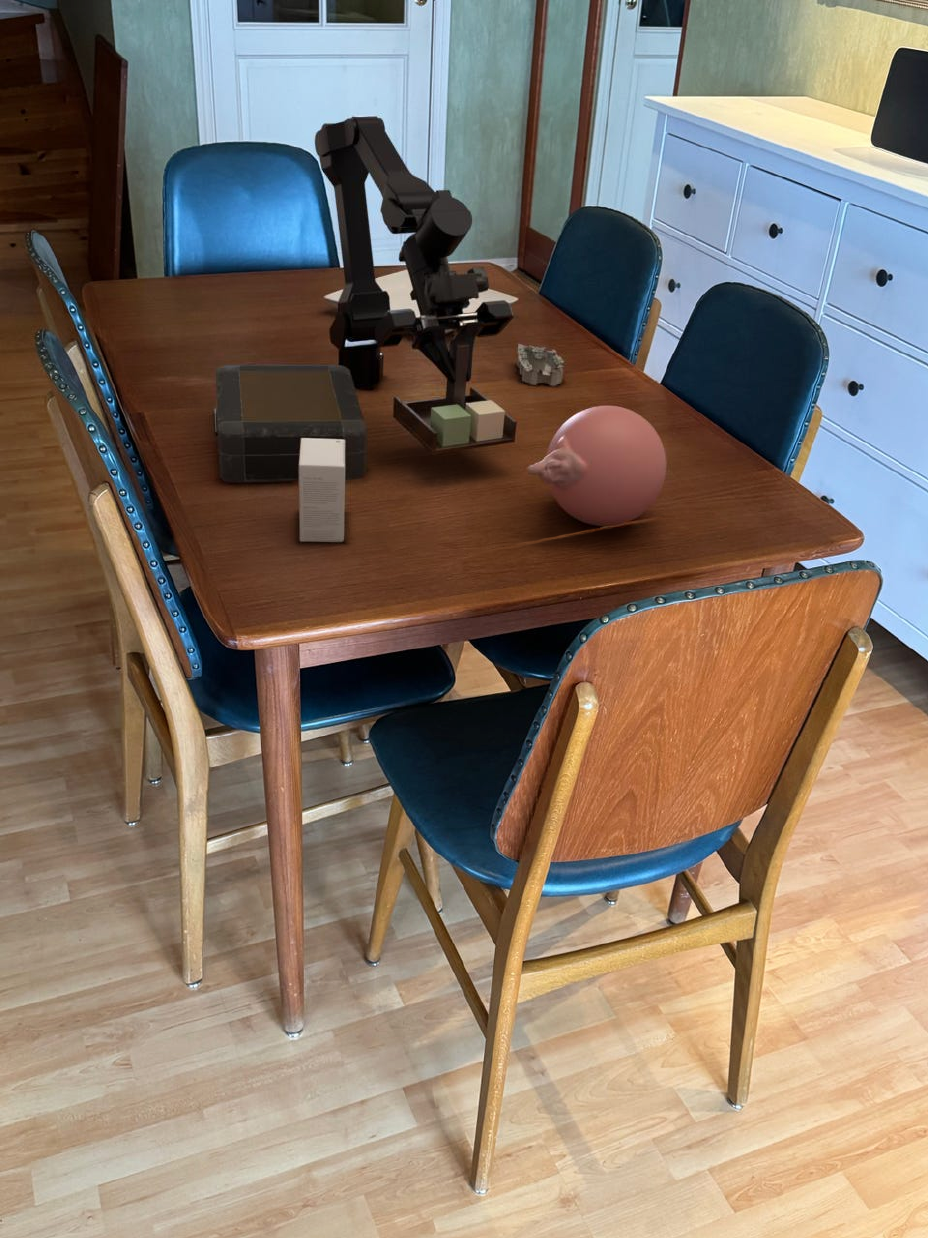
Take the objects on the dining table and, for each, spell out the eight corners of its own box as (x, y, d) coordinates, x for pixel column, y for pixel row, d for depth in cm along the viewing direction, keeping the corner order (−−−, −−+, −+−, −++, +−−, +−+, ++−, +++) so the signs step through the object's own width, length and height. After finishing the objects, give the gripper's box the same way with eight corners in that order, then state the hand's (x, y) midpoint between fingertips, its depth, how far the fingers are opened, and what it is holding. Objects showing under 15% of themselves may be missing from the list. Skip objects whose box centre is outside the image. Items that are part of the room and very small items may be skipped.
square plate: (409, 284, 229) (410, 265, 227) (519, 316, 217) (521, 296, 215) (321, 312, 210) (321, 292, 208) (435, 348, 198) (437, 327, 196)
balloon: (488, 509, 147) (498, 400, 139) (612, 485, 156) (628, 381, 147) (549, 563, 136) (564, 448, 128) (679, 535, 145) (700, 425, 136)
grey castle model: (563, 387, 186) (566, 364, 184) (518, 385, 186) (521, 361, 184) (557, 364, 195) (560, 342, 193) (515, 362, 195) (517, 339, 193)
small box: (301, 512, 143) (300, 436, 137) (344, 513, 143) (345, 437, 138) (298, 542, 136) (297, 464, 130) (344, 543, 137) (345, 465, 131)
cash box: (214, 412, 168) (211, 363, 163) (348, 410, 172) (348, 362, 167) (215, 485, 147) (212, 432, 143) (367, 482, 151) (368, 429, 147)
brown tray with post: (392, 416, 157) (396, 330, 150) (471, 406, 162) (478, 322, 155) (432, 454, 147) (438, 364, 140) (514, 442, 153) (524, 354, 146)
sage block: (429, 434, 151) (431, 407, 149) (455, 431, 153) (457, 404, 151) (442, 446, 148) (444, 419, 146) (468, 443, 150) (471, 415, 148)
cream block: (463, 430, 153) (465, 403, 151) (488, 426, 155) (491, 399, 153) (476, 441, 150) (479, 414, 148) (502, 438, 152) (505, 410, 150)
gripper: (386, 248, 140) (418, 362, 138) (514, 240, 148) (546, 348, 146) (360, 291, 150) (390, 398, 148) (482, 281, 158) (512, 383, 156)
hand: (461, 381), depth 150 cm, fingers closed on brown tray with post
